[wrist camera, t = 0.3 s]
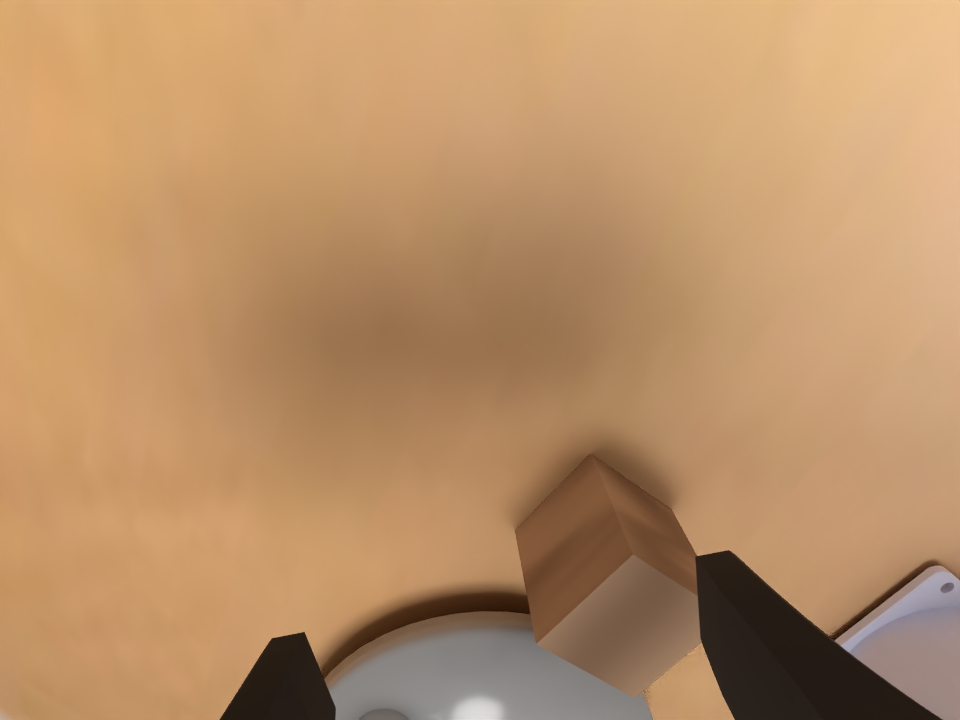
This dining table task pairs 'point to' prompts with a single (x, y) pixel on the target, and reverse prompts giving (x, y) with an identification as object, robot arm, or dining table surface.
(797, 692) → the robot arm
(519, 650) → the turntable
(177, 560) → the dining table surface
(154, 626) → the dining table surface
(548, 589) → the walnut block
